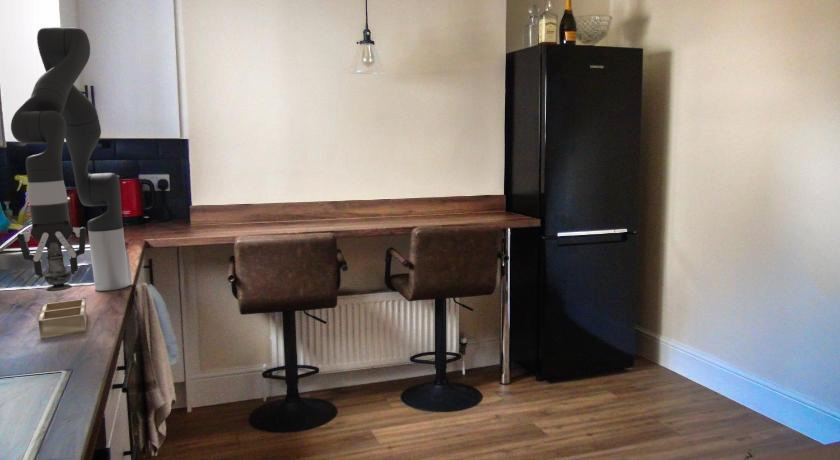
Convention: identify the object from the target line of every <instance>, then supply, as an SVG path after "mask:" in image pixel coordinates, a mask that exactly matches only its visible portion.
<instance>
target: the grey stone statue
mask: <svg viewBox="0 0 840 460" xmlns="http://www.w3.org/2000/svg"><path fill="white" fill-rule="evenodd" d="M46 252H47V256H46V257H45V258H46V259H47V262H48V263H47V264H48V270H47V271H46V272H45V273H44V272H43V278H44V280H45V282H46V283H48V284H49V285H50V286H48V287H47V288H46V289H45V291H47V292H59V291H60V292H61V291H65V290H69V289H72V287H73V285H71V284H69V283H68V282H69V281H70V280H71V275H72V274H71V269H69V270H68V269H67V268H66V266H65V263H64V257H65V255H64V254H63V251H62V246H58V244H57V243H50V244H49V246H48V247H46Z"/></svg>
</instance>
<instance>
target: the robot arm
mask: <svg viewBox="0 0 840 460" xmlns="http://www.w3.org/2000/svg"><path fill="white" fill-rule="evenodd" d="M36 40H37V41H36V42H37V48H38V53H39V55H40V58H41V62H42V65H43V67H44V70H45V72H44V73H43V74H42V75H41V76H40V77H39V78H38V79H37V81H36V82H35V84H34V86H33V89H32V92H31V94H30V97H29V98H28V99H27V100H26V101H25V102H23V104H22V105H20V107H19V108H18V109H17V110H16V112H14V114H13V116H12V119H11V122H10V131H11V134H12V136H13V138H14V139H15V140H16V141H17V142H19V143H21V144H24V145H33V144H34V145H35V144H46V147H45V150H44V151H43V152H40V153H38V154H32V155H29V156H27V157H26V159H25V170H26V177H27V195H28V203H29V211H30V220H31V230H30V231H26V232H19V233H18V234H17V236H16V238H17V242H18V244H19V247H20V250H21V253H22V257H23V260H26V261H32V262H33V265H34V267H33V268H34V274H35V276H38V278H39V279H40V278H41V279H42V278H44V276H43V274H44V270H43V262H42V259H41V257H42V254H43V252H44V249H45V248H47V247H48V246H49V244H50V243H57V244H58V246H61V247H62V246H63V248H64V249H65V250H66V252H67V254H68V255H69V265H70V271H71V273H70V274H71V275H76V272H77V271H78V269H79V265H78V256H81V255H84V254H85V251H86V239H87V237H86V235H87V234H88V241H89V247H90V248H89V249H90V256H91V266H92V275H93V283H94V290H96V291H99V292H104V291H106V292H107V291H115V290H121V289H125V288H127V287H128V288H129V286H130V285H132V284H133V283H132V274H131V264H130V254H129V252H127V250H126V243H125V242H126V241H125V234H124V233H125V232H124V223H123V222H124V221H123V212H122V211H123V210H122V196H121V195H122V194H121V183H120V178H119V177H118V175H117V174H116V173H114V172H102V173H101V172H100V173H90V172H89V171H88V170H89V169H88V164H89V162H90V159H91V157H92V154H93V152H94V150H95V148H96V147H97V145H98V143H99V140H100V138H101V134H102V129H101V127H102V126H101V123H100V118H99V114H98V110H97V109H96V107H95V105H94V104H93V103H92V101H91V100H90V99H89V98H88V97H87V96H86V95H85V94H84V93H83V92H82V91H81V90H80V89H78V88H77V86H75V85H74V84H75V83H76V81H77V80H78V78H79V77H80V76H81V73H82V72H83V71H84V69H85V67H86V65H87V64H88V61H89V59H90V57H91V56H90V55H91V44H90V39H89V37H88V34H87V33H86V31H85V30H84V29H82V28H80V27H72V26H71V27H70V26H68V27H67V26H65V27H64V26H63V27H62V26H60V27H59V26H57V27H56V26H53V27H52V26H50V27H49V26H48V27H47V26H46V27H45V26H44V27H41V28H39V30H37V36H36ZM64 143H66V145H67V146H66V147H67V149H68V153H69V156H70V160H71V165H72V172H73V175H74V177H73V178H74V181H75V188H76V191H77V192H76V193H77V196H78V200H79V201H80V203H81V205H83V206H85V207H102V206H105V207H106V206H107V210H106V211H105V212H104V213H102V214H101V215H99V216H96V217H94V218H91V219H89V220H88V221H87V228H86V227H85V226H81V227H74V226H73V225H72V224H71V219H70V214H69V213H70V212H69V211H70V210H69V204H68V195H67V193H68V192H67V188H66V184H65V180H64V174H63V171H64V170H63V163H62V162H63V161H62V160H63V150H64V145H65V144H64ZM87 232H88V233H87ZM73 233H75V236H76V237H77V238H79V239H78V240H79V243H78V249H75V248H74V246H73V245H72V243H71V242H70V240H69V238H70V236H72V234H73ZM86 233H87V234H86ZM30 237H32V238H33V239H34V240H35V241H36V242H37V243H38V245H37V247H36V251H35V253H31V250H30V248H29V245H28V242H29V241H30Z"/></svg>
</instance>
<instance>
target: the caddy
mask: <svg viewBox="0 0 840 460" xmlns="http://www.w3.org/2000/svg"><path fill="white" fill-rule="evenodd" d="M87 311H88V310H87V303H86V298H80V299H72V300H71V299H70V300H64V301H56V302H54V301H53V302H47V303H44V304H43V306H42V308H41V312H40V315H39V318H38V329H39V337H40V339H48V338H52V337H60V336H68V335H72V334H73V335H74V333H75V334H81V333H86V331H87V318H88V312H87Z"/></svg>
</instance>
